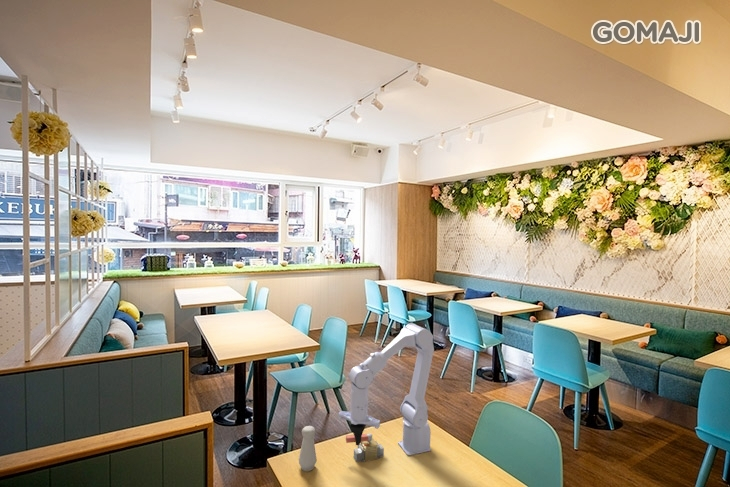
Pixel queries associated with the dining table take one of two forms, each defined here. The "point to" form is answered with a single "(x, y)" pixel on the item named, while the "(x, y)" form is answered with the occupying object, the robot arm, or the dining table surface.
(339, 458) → the dining table surface
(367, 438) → the lever
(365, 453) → the valve base
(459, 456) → the dining table surface
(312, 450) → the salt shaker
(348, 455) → the dining table surface
